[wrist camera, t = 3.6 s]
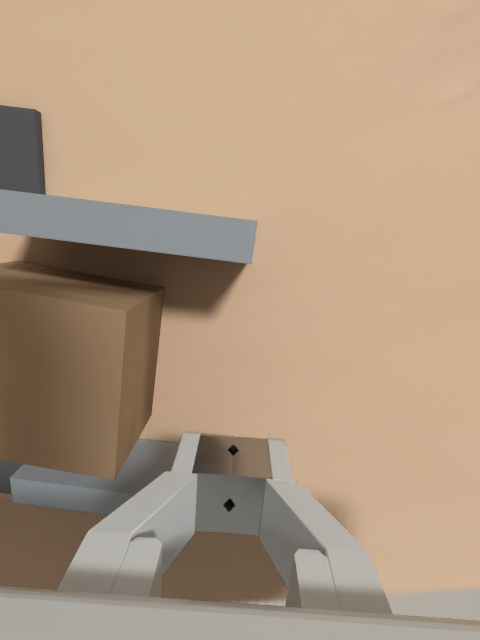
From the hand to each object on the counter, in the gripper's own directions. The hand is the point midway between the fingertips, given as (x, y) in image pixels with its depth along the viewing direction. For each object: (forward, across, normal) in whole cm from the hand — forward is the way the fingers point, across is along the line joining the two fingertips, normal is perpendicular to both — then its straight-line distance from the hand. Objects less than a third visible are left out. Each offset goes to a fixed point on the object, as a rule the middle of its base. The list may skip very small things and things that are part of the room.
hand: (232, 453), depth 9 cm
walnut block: (+5, +6, -1) cm, 8 cm away
